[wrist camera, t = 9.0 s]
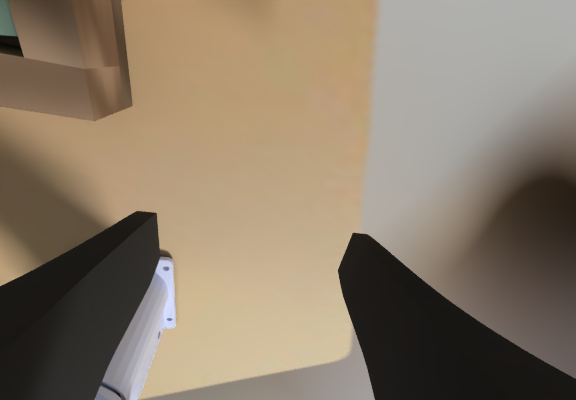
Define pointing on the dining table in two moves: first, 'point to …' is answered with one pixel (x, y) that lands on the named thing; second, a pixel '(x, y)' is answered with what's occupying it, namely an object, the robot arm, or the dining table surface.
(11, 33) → the square peg
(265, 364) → the dining table surface
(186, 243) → the dining table surface
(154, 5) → the dining table surface
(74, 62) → the hole block
